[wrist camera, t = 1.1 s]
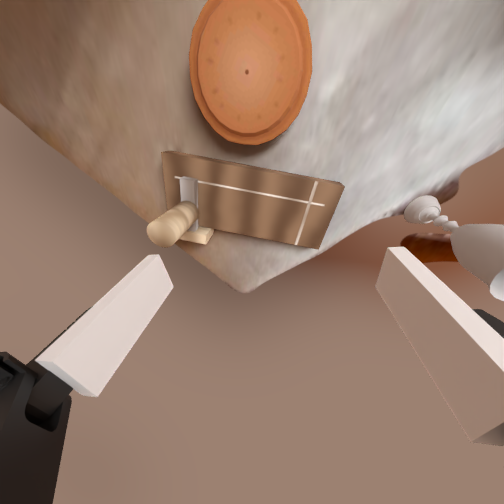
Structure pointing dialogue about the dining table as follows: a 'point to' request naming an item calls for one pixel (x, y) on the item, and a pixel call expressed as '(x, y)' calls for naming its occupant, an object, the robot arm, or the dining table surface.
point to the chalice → (467, 242)
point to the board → (254, 199)
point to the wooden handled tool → (180, 219)
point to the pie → (250, 67)
